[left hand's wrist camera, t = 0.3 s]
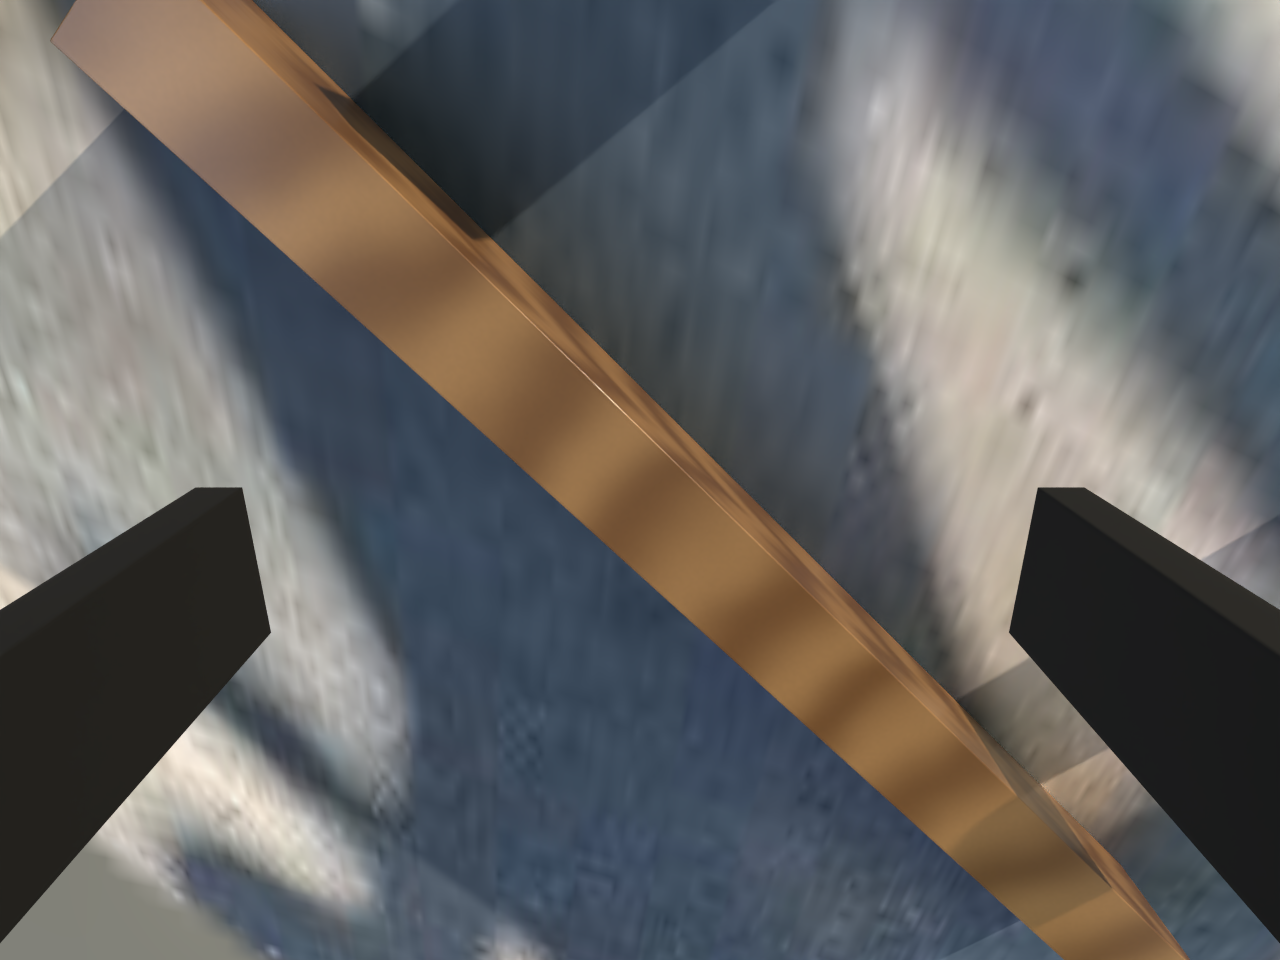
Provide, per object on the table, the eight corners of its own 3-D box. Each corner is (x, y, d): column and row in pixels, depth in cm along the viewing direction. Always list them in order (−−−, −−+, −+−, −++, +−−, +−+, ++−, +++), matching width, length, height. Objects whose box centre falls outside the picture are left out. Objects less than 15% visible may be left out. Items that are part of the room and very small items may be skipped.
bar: (176, 77, 34) (48, 40, 27) (239, -13, 33) (123, -76, 25) (1058, 902, 52) (1127, 1018, 44) (1120, 864, 50) (1202, 976, 43)
